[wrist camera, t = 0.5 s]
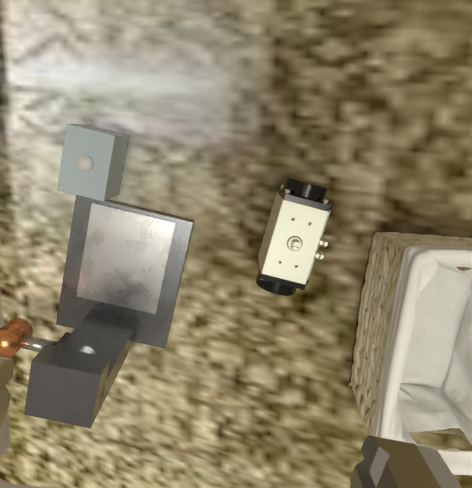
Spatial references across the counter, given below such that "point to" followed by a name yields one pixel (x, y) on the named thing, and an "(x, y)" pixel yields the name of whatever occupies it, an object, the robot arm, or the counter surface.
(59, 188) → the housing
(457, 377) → the storage basket
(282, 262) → the pneumatic valve
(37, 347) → the lever
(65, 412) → the press
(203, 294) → the counter surface
